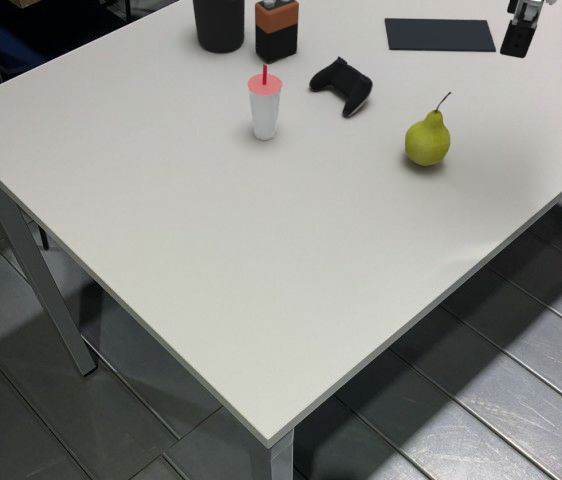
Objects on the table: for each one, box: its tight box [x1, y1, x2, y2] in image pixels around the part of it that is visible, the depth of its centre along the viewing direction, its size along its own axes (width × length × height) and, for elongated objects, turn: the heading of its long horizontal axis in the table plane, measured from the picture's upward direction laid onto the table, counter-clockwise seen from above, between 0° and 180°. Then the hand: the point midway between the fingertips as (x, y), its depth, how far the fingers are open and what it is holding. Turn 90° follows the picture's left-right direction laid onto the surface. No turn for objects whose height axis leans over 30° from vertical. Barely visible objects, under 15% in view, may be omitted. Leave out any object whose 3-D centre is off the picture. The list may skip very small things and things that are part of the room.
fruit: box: [404, 91, 452, 167], centre depth 95 cm, size 7×7×12 cm
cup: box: [247, 64, 283, 141], centre depth 98 cm, size 5×5×12 cm
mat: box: [384, 17, 497, 53], centre depth 118 cm, size 20×10×1 cm, turn 90°
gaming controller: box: [308, 55, 374, 118], centre depth 107 cm, size 11×4×7 cm
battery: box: [254, 0, 300, 64], centre depth 110 cm, size 4×7×10 cm, turn 125°
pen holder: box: [192, 0, 246, 54], centre depth 112 cm, size 9×9×10 cm
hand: (515, 33), depth 80 cm, fingers open, 9 cm apart
